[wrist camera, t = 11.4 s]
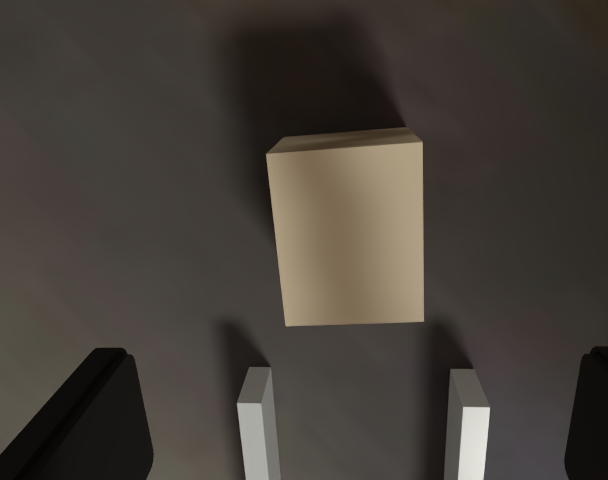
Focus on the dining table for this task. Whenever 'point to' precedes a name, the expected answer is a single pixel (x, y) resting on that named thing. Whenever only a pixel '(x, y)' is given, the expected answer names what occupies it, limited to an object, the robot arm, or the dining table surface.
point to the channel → (459, 438)
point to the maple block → (349, 226)
